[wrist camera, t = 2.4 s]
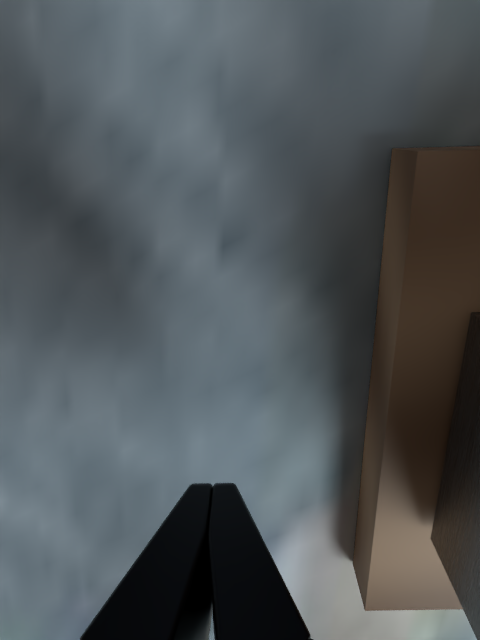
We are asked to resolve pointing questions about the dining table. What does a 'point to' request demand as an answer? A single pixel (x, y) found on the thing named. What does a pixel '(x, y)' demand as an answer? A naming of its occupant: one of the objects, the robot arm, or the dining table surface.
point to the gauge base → (416, 372)
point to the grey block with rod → (463, 486)
